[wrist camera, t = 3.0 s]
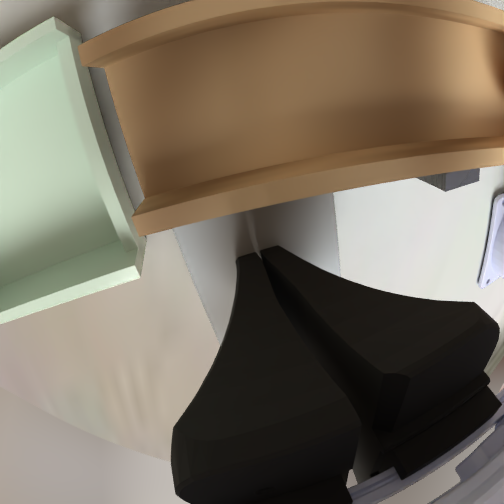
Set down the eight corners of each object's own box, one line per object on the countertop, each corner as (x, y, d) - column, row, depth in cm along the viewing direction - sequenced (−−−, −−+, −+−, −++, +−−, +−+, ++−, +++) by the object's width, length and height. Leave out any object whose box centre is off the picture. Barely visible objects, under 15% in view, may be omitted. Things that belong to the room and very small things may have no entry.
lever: (538, 38, 6) (577, 44, 3) (531, 246, 11) (559, 271, 9) (110, 52, 7) (69, 45, 5) (209, 334, 13) (206, 383, 10)
